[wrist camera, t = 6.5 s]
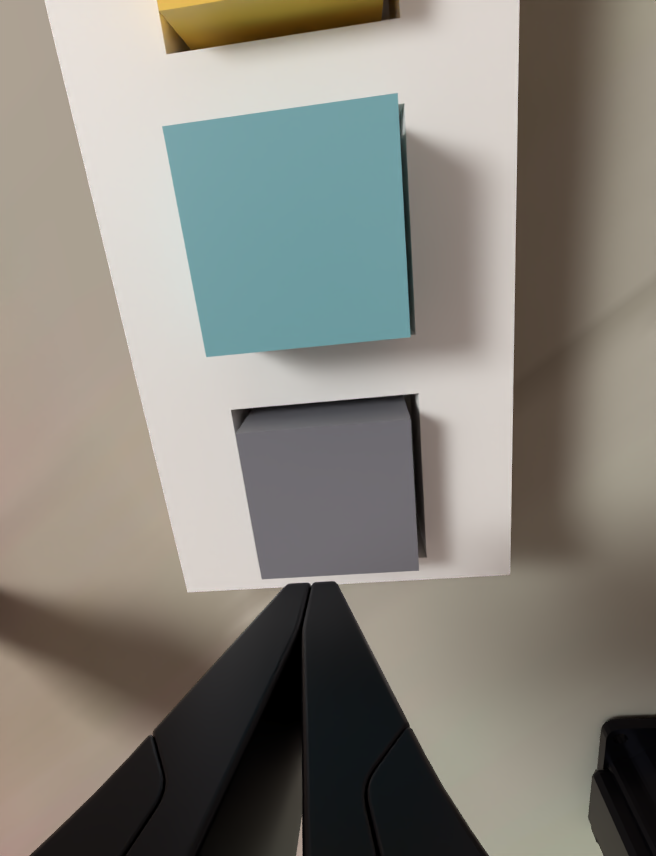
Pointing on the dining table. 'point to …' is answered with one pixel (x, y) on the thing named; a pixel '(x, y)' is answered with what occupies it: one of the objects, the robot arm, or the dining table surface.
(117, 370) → the dining table surface
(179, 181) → the teal button
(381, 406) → the charcoal button
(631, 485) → the dining table surface
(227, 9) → the amber button
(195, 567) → the button panel
